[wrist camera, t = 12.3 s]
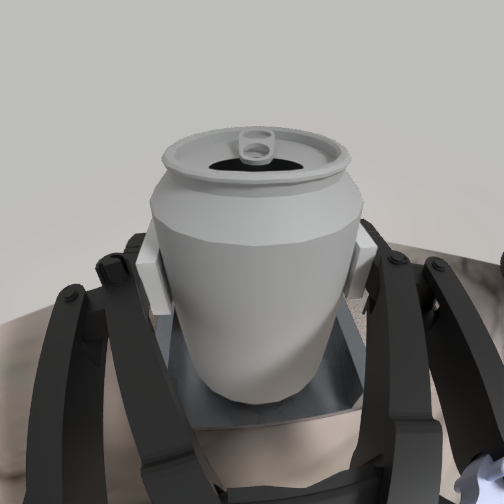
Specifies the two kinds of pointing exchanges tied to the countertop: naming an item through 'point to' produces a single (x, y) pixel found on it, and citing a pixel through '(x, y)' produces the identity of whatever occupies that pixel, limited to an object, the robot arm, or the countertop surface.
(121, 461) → the countertop surface
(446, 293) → the robot arm
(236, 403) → the open rectangular tray
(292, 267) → the can
